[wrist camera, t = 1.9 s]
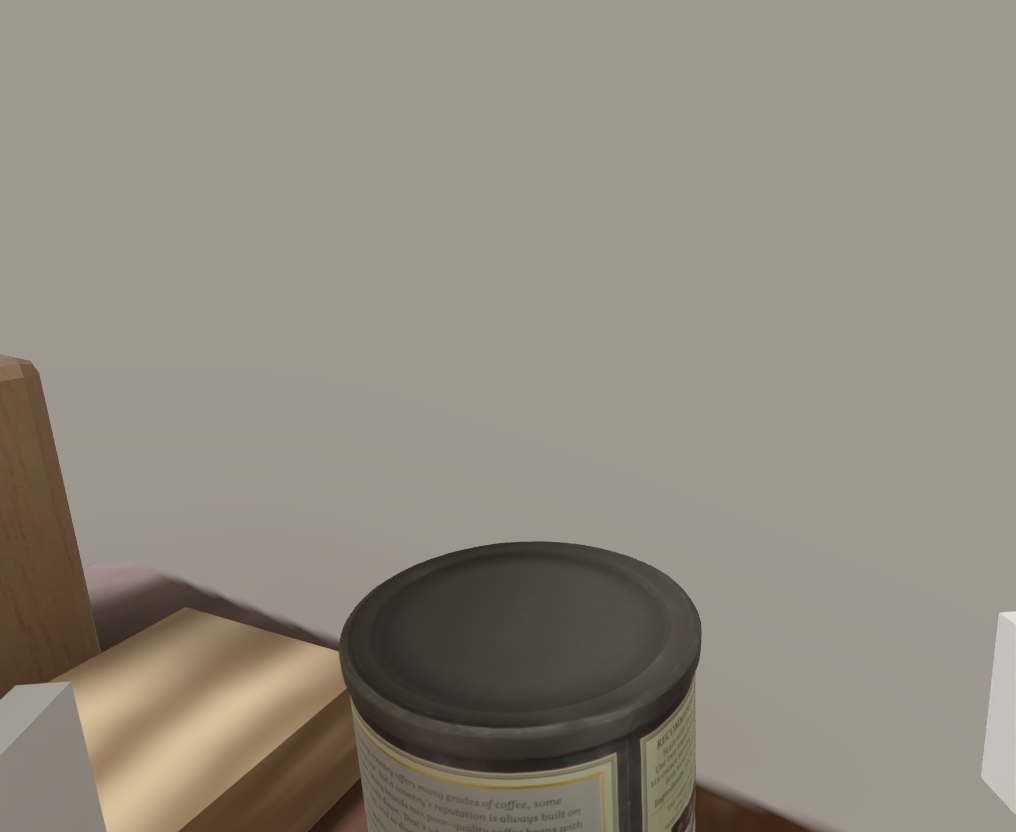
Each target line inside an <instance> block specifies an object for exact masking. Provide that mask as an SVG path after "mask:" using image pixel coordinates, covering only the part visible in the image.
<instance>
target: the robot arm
mask: <svg viewBox="0 0 1016 832" xmlns="http://www.w3.org/2000/svg"><path fill="white" fill-rule="evenodd" d="M981 778H982V779H983V780H984V781H985V782H986V783H987V784H988V785H989V787H990V788H991V789H992V790H993V791H994V792H995V793H996V794H997V795H998V796H999V797H1000V798H1001V799H1002V801H1003V802H1004V803H1005V804H1006V805H1007V806H1008V807H1009V808H1010V809H1011V810H1012V811H1013V812H1014V813H1015V815H1016V612H1002V613H999V619H998V628H997V637H996V646H995V655H994V664H993V673H992V682H991V692H990V701H989V710H988V719H987V728H986V737H985V746H984V755H983V765H982V774H981ZM0 832H107V830H106V826H105V822H104V818H103V814H102V809H101V805H100V801H99V797H98V793H97V789H96V784H95V780H94V776H93V772H92V768H91V763H90V759H89V755H88V751H87V747H86V743H85V738H84V734H83V730H82V726H81V722H80V717H79V713H78V709H77V705H76V701H75V697H74V692H73V688H72V684H71V681H69V682H56V683H42V684H29V685H16V686H15V687H14V688H13V689H11V690H10V691H9V692H8V693H7V694H6V695H5V696H4V697H3V698H2V699H1V700H0Z"/></svg>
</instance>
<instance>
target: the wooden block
mask: <svg viewBox="0 0 1016 832" xmlns="http://www.w3.org/2000/svg"><path fill="white" fill-rule="evenodd" d="M100 653H101V649H100V644H99V640H98V635H97V631H96V626H95V622H94V617H93V613H92V608H91V604H90V599H89V595H88V591H87V586H86V582H85V577H84V573H83V568H82V564H81V559H80V555H79V550H78V546H77V541H76V537H75V532H74V528H73V523H72V519H71V514H70V510H69V506H68V501H67V496H66V492H65V487H64V483H63V478H62V474H61V469H60V465H59V460H58V456H57V451H56V447H55V443H54V438H53V433H52V429H51V425H50V421H49V416H48V411H47V407H46V402H45V398H44V393H43V389H42V385H41V380H40V376H39V373H38V371H37V369H36V368H35V367H34V366H33V364H32V363H31V362H30V361H28V360H23V359H18V358H14V357H9V356H4V355H0V700H1V699H2V698H3V697H4V696H5V695H6V694H7V693H8V692H9V691H10V690H11V689H13V688H14V687H15V686H16V685H29V684H42V683H47V682H49V681H51V680H53V679H55V678H57V677H58V676H60V675H62V674H64V673H66V672H67V671H69V670H71V669H73V668H75V667H77V666H78V665H80V664H82V663H84V662H86V661H88V660H89V659H91V658H93V657H95V656H97V655H99V654H100Z"/></svg>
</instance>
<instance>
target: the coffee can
mask: <svg viewBox="0 0 1016 832" xmlns="http://www.w3.org/2000/svg"><path fill="white" fill-rule="evenodd" d="M700 649H701V621H700V618H699V614H698V612H697V610H696V608H695V606H694V604H693V602H692V601H691V599H690V598H689V597H688V595H687V594H686V593H685V591H684V590H683V589H682V588H681V587H680V586H679V585H678V584H677V583H676V582H675V581H673V580H672V579H671V578H670V577H669V576H667V575H666V574H664V573H662V572H661V571H660V570H658V569H656V568H654V567H652V566H651V565H648V564H646V563H644V562H641V561H639V560H636V559H634V558H631V557H629V556H626V555H623V554H619V553H616V552H612V551H609V550H605V549H601V548H596V547H591V546H585V545H579V544H569V543H559V542H535V541H534V542H511V543H499V544H492V545H485V546H479V547H474V548H469V549H465V550H460V551H456V552H452V553H448V554H445V555H443V556H439V557H436V558H433V559H430V560H427V561H425V562H422V563H419V564H417V565H414V566H412V567H411V568H408V569H406V570H404V571H402V572H400V573H398V574H397V575H395V576H393V577H392V578H390V579H388V580H386V581H385V582H383V583H382V584H380V585H379V586H377V587H376V588H375V589H373V590H372V591H371V592H370V593H369V594H368V595H366V597H364V599H363V600H362V601H361V602H360V603H359V604H358V605H357V606H356V607H355V609H354V610H353V612H352V613H351V614H350V616H349V618H348V619H347V621H346V623H345V625H344V627H343V630H342V633H341V638H340V644H339V659H340V665H341V670H342V675H343V679H344V682H345V685H346V688H347V690H348V692H349V694H350V701H351V708H352V716H353V723H354V730H355V738H356V745H357V752H358V760H359V767H360V775H361V782H362V790H363V797H364V804H365V811H366V819H367V826H368V832H695V797H696V795H695V771H696V766H695V671H696V668H697V666H698V662H699V657H700Z"/></svg>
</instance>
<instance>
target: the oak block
mask: <svg viewBox="0 0 1016 832" xmlns="http://www.w3.org/2000/svg"><path fill="white" fill-rule="evenodd" d="M69 681H71V684H72V688H73V692H74V697H75V701H76V705H77V709H78V713H79V717H80V722H81V726H82V730H83V734H84V738H85V743H86V747H87V751H88V755H89V759H90V763H91V768H92V772H93V776H94V780H95V784H96V789H97V793H98V797H99V801H100V805H101V809H102V814H103V818H104V822H105V826H106V830H107V832H309V831H310V830H311V829H312V828H313V826H314V825H315V824H316V823H317V822H318V821H319V820H320V819H321V818H322V817H323V816H324V815H325V814H326V813H327V812H328V811H329V810H330V809H331V808H332V807H333V806H334V805H335V804H336V803H337V802H338V801H339V800H340V798H341V797H342V796H343V795H344V794H345V793H346V792H347V791H348V790H349V789H350V788H351V787H352V786H353V785H354V784H355V783H356V782H357V781H358V780H359V779H360V778H361V775H360V767H359V760H358V752H357V745H356V738H355V730H354V723H353V716H352V708H351V701H350V694H349V692H348V690H347V688H346V685H345V682H344V679H343V675H342V670H341V665H340V659H339V652H338V651H335V650H331V649H328V648H325V647H321V646H318V645H314V644H311V643H307V642H304V641H301V640H297V639H294V638H290V637H287V636H283V635H280V634H277V633H273V632H270V631H266V630H263V629H260V628H256V627H253V626H249V625H246V624H242V623H239V622H236V621H232V620H229V619H225V618H222V617H218V616H215V615H212V614H208V613H205V612H201V611H198V610H194V609H191V608H188V607H185V608H183V609H181V610H179V611H177V612H175V613H174V614H172V615H170V616H168V617H166V618H164V619H163V620H161V621H159V622H157V623H155V624H154V625H152V626H150V627H148V628H146V629H144V630H143V631H141V632H139V633H137V634H135V635H133V636H132V637H130V638H128V639H126V640H124V641H122V642H121V643H119V644H117V645H115V646H113V647H111V648H110V649H108V650H106V651H104V652H102V653H100V654H99V655H97V656H95V657H93V658H91V659H89V660H88V661H86V662H84V663H82V664H80V665H78V666H77V667H75V668H73V669H71V670H69V671H67V672H66V673H64V674H62V675H60V676H58V677H57V678H55V679H53V680H51V681H49V682H47V683H56V682H69Z"/></svg>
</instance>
